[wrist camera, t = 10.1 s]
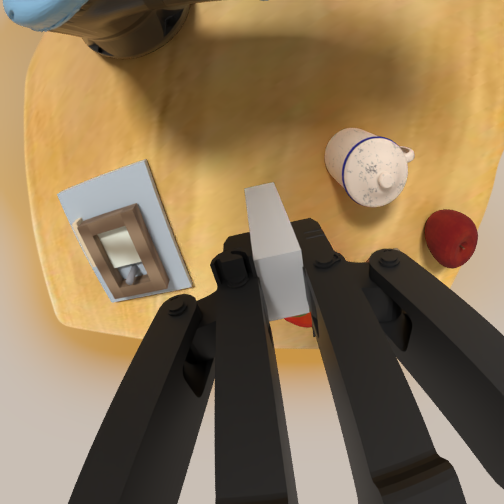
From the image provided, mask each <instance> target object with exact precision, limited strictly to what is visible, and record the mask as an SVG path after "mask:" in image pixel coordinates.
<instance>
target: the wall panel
mask: <svg viewBox="0 0 504 504" xmlns="http://www.w3.org/2000/svg"><path fill="white" fill-rule="evenodd" d="M57 195H58V198H59V200H60V203H61V205H62V207H63V209H64V212H65V214H66V216H67V218H68V221H69V223H70V225H71V227H72V229H73V231H74V233H75V235H76V237H77V240H78V242H79V244H80V246H81V248H82V250H83V251H84V253H85V255H86V257H87V259H88V261H89V263H90V265H91V267H92V269H93V270H94V272H95V274H96V276H97V278H98V280H99V281H100V283H101V285H102V287H103V288H104V290H105V292H106V294H107V295H108V297H109V299H110V300H111V302H117V301H123V300H128V299H133V298H138V297H144V296H149V295H154V294H159V293H164V292H169V291H174V290H180V289H185V288H190V287H192V281H191V278H190V276H189V273H188V271H187V268H186V266H185V263H184V261H183V258H182V256H181V253H180V251H179V248H178V246H177V243H176V240H175V238H174V235H173V233H172V230H171V227H170V225H169V222H168V219H167V217H166V214H165V211H164V208H163V206H162V203H161V200H160V197H159V194H158V192H157V189H156V186H155V183H154V180H153V177H152V174H151V171H150V168H149V165H148V162H147V159H145V160H142V161H139V162H136V163H133V164H130V165H127V166H124V167H121V168H119V169H116V170H113V171H110V172H108V173H105V174H102V175H100V176H97V177H95V178H92V179H90V180H87V181H85V182H82V183H80V184H77V185H75V186H73V187H70V188H68V189H65V190H63V191H61V192H59V193H58V194H57ZM135 203H137V204H138V207H139V209H140V212H141V214H142V217H143V219H144V222H145V224H146V227H147V229H148V232H149V234H150V236H151V239H152V241H153V243H154V246H155V248H156V250H157V253H158V255H159V257H160V260H161V262H162V264H163V266H164V268H165V271H166V273H167V275H168V277H169V279H170V280H169V284H168V288H167V289H164V290H159V291H154V292H149V293H144V294H139V295H134V296H129V297H124V298H119V299H115V298H114V297H113V295H112V293H111V292H110V290H109V288H108V286H107V285H106V283H105V281H104V279H103V278H102V276H101V274H100V272H99V270H98V268H97V267H96V265H95V263H94V261H93V259H92V257H91V255H90V253H89V251H88V249H87V247H86V245H85V243H84V241H83V239H82V237H81V235H80V233H79V231H78V229H77V227H78V226H79V225H80V224H81V223H82V222H83V221H84V220H87V219H90V218H92V217H95V216H98V215H101V214H104V213H107V212H110V211H113V210H116V209H119V208H122V207H126V206H129V205H132V204H135ZM117 268H118V270H119V272H120V274H121V276H122V278H123V279H126V283H127V284H128V285H131V284H132V283H133V281H134V279H135V277H136V276H141V275H145V274H147V272H146V270H145V268H144V266H143V264H142V261H141V262H137V263H133V264H129V265H125V266H121V267H117Z"/></svg>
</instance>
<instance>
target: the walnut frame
mask: <svg viewBox="0 0 504 504" xmlns="http://www.w3.org/2000/svg"><path fill="white" fill-rule="evenodd" d="M77 229H78V231H79V233H80V235H81V237H82V239H83V241H84V243H85V245H86V247H87V249H88V251H89V253H90V255H91V257H92V259H93V261H94V263H95V265H96V267H97V268H98V270H99V272H100V274H101V276H102V278H103V279H104V281H105V283H106V285H107V286H108V288H109V290H110V292H111V293H112V295H113V297H114V298H115V299H119V298H124V297H129V296H134V295H139V294H144V293H149V292H154V291H159V290H164V289H167V288H168V284H169V280H170V279H169V277H168V275H167V273H166V271H165V268H164V266H163V264H162V262H161V260H160V257H159V255H158V253H157V250H156V248H155V246H154V243H153V241H152V239H151V236H150V234H149V232H148V229H147V227H146V224H145V222H144V219H143V217H142V214H141V212H140V209H139V207H138V204H137V203H135V204H132V205H129V206H126V207H122V208H119V209H116V210H113V211H110V212H107V213H104V214H101V215H98V216H95V217H92V218H90V219H87V220H84V221H83V222H82V223H81V224H80V225H79V226H78V227H77ZM141 261H142V264H143V266H144V268H145V270H146V272H147V274H145V275H141V276H136V277H135V279H134V281H133V283H132V284H131V285H128V284H127V283H126V279H123V278H122V276H121V274H120V272H119V270H118V268H117V267H121V266H125V265H129V264H133V263H137V262H141Z"/></svg>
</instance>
